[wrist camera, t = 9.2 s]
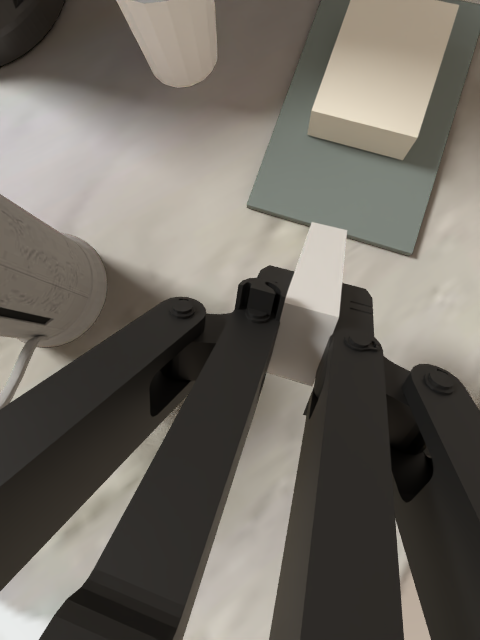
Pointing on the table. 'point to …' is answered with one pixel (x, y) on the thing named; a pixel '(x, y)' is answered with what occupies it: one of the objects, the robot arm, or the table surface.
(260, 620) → the table surface
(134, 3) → the white cup
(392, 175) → the mat
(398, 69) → the cream rectangular block
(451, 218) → the table surface
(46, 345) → the tall grey mug
